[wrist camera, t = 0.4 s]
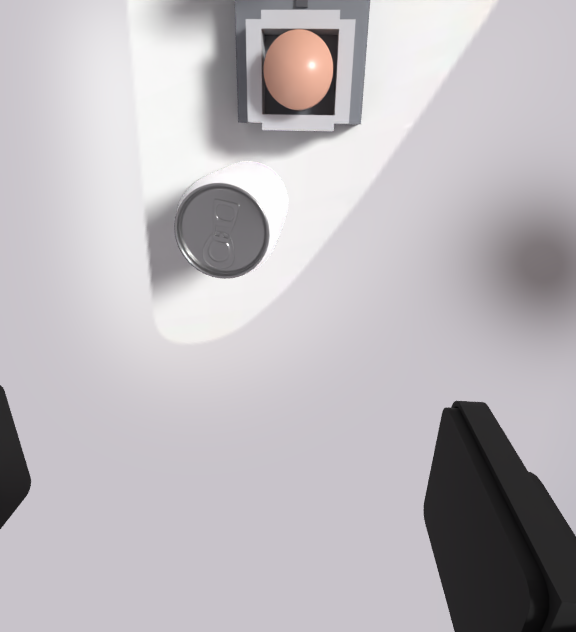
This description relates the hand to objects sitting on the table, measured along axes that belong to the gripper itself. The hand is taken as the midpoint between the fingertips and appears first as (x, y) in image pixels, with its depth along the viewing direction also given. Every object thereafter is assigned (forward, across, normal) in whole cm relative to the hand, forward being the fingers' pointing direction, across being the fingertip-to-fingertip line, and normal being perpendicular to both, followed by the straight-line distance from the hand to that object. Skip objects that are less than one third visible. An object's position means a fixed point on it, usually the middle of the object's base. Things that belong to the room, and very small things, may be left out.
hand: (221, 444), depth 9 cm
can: (+29, +4, 0) cm, 30 cm away
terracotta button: (+26, 0, -10) cm, 28 cm away
